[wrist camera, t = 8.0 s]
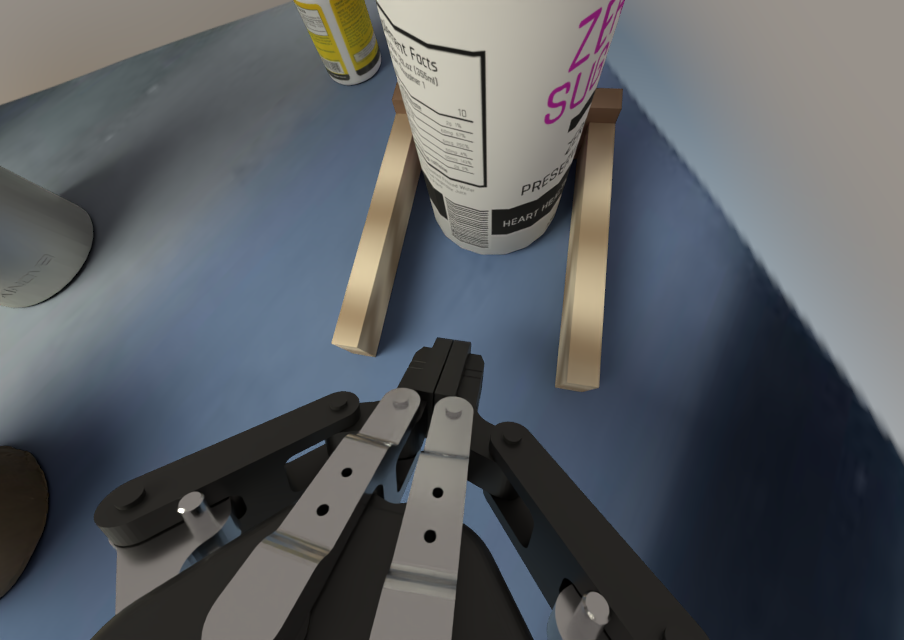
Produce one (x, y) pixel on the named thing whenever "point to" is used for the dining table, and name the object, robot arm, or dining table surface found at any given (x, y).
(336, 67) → the supplement bottle
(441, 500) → the robot arm
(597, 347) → the bay
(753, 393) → the dining table surface
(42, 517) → the pillar candle
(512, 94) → the supplement can
